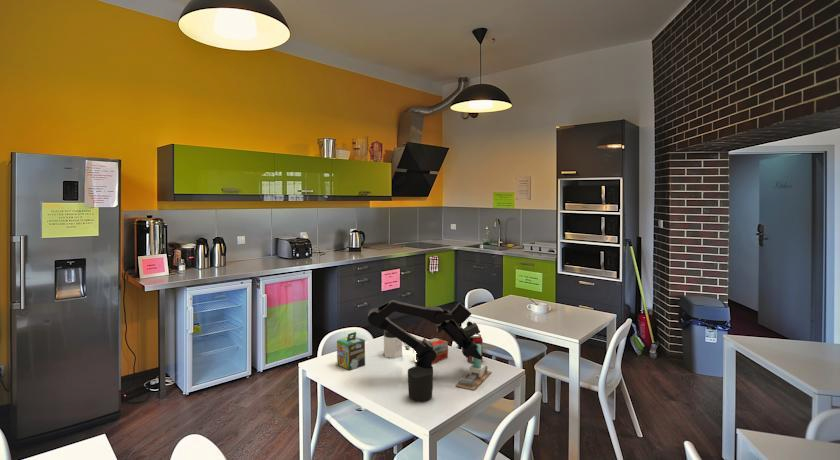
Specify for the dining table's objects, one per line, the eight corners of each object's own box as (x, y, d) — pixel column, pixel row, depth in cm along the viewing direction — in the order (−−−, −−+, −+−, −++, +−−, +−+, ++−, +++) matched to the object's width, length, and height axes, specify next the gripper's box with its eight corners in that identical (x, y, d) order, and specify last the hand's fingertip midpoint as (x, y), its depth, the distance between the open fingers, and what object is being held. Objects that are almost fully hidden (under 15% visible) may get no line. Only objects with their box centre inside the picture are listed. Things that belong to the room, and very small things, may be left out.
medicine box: (435, 353, 213) (435, 337, 212) (448, 357, 207) (448, 341, 207) (413, 362, 202) (413, 344, 201) (426, 366, 196) (426, 348, 195)
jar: (391, 359, 204) (391, 333, 204) (379, 355, 210) (379, 330, 209) (405, 354, 211) (405, 329, 210) (394, 350, 216) (394, 326, 216)
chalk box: (353, 360, 204) (352, 328, 203) (365, 365, 198) (365, 332, 197) (336, 365, 197) (335, 332, 196) (349, 370, 191) (348, 336, 190)
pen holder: (425, 390, 172) (425, 364, 171) (437, 399, 163) (437, 372, 163) (403, 395, 167) (403, 368, 167) (415, 405, 159) (415, 377, 158)
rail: (474, 390, 171) (474, 382, 171) (455, 386, 175) (455, 378, 174) (491, 372, 188) (491, 365, 188) (473, 369, 192) (473, 362, 192)
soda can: (481, 364, 198) (482, 337, 198) (466, 363, 200) (466, 337, 199) (482, 359, 205) (483, 333, 204) (468, 358, 206) (468, 332, 205)
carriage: (480, 377, 181) (481, 347, 180) (469, 375, 184) (469, 345, 183) (484, 373, 186) (485, 344, 185) (473, 371, 188) (473, 342, 187)
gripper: (472, 323, 173) (500, 350, 175) (464, 311, 192) (489, 336, 194) (452, 344, 173) (480, 371, 175) (445, 330, 192) (471, 354, 193)
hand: (480, 357), depth 184 cm, fingers closed on carriage, 3 cm apart
